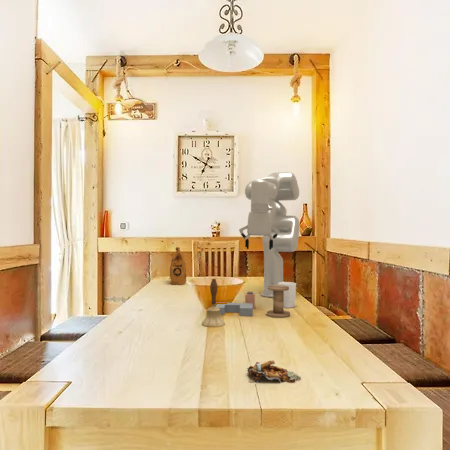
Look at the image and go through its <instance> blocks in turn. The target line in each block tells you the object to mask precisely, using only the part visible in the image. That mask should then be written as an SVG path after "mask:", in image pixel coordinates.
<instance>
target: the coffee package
mask: <svg viewBox="0 0 450 450" xmlns="http://www.w3.org/2000/svg"><path fill="white" fill-rule="evenodd" d="M169 266H170V267H169V278H170V279H169V280H170V282H171V283H170V284H172V285H173V286H174V285H175V286H176V285H177V286H179V285H182V286H183V285H185V284H186V282H187V269H186V268H187V267H186V262H185V259H184V254H183V253H182V251H181V247H179V246H176V247H175V252H174V254H173V256H172V257H171V261H170V265H169Z"/></svg>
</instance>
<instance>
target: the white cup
mask: <svg viewBox="0 0 450 450" xmlns="http://www.w3.org/2000/svg"><path fill="white" fill-rule="evenodd" d="M278 285H283V286H288V287H289V290H287V291H284V309H285V308H288V309H292V308H295V307H296V295H297V283H296V282H291V281H283V282H279V283H278Z"/></svg>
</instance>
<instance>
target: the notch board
mask: <svg viewBox="0 0 450 450" xmlns="http://www.w3.org/2000/svg"><path fill="white" fill-rule="evenodd" d="M226 303H227V304H217V305H216V307H217V308H219V309H220V314H221V315H224V316H225V314H226V313H239V316H240V317H253V316H254V314H253V312H254V309H253V304H252V303H245V302H226Z"/></svg>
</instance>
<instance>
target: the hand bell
mask: <svg viewBox="0 0 450 450" xmlns="http://www.w3.org/2000/svg"><path fill="white" fill-rule="evenodd" d="M209 287H210V288H209V290H210V291H209V292H210V295H211V302H210V303H211V304H210V305H211V306H210V307H208V308H207V310H206V315H205V318H204V320H203V321H202V322H201V325H202V326H205V327H208V326H209V327H210V328H216V327H215V326H220V327H223V325H224V326H225V325H226V323H225V321H224V320H223V317H222V316H221V314H220V309H219V308H217V307H216V303H217V294H218V289H219V287H218V283H217V279H216V278H212V279H211V282H210V285H209Z"/></svg>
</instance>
